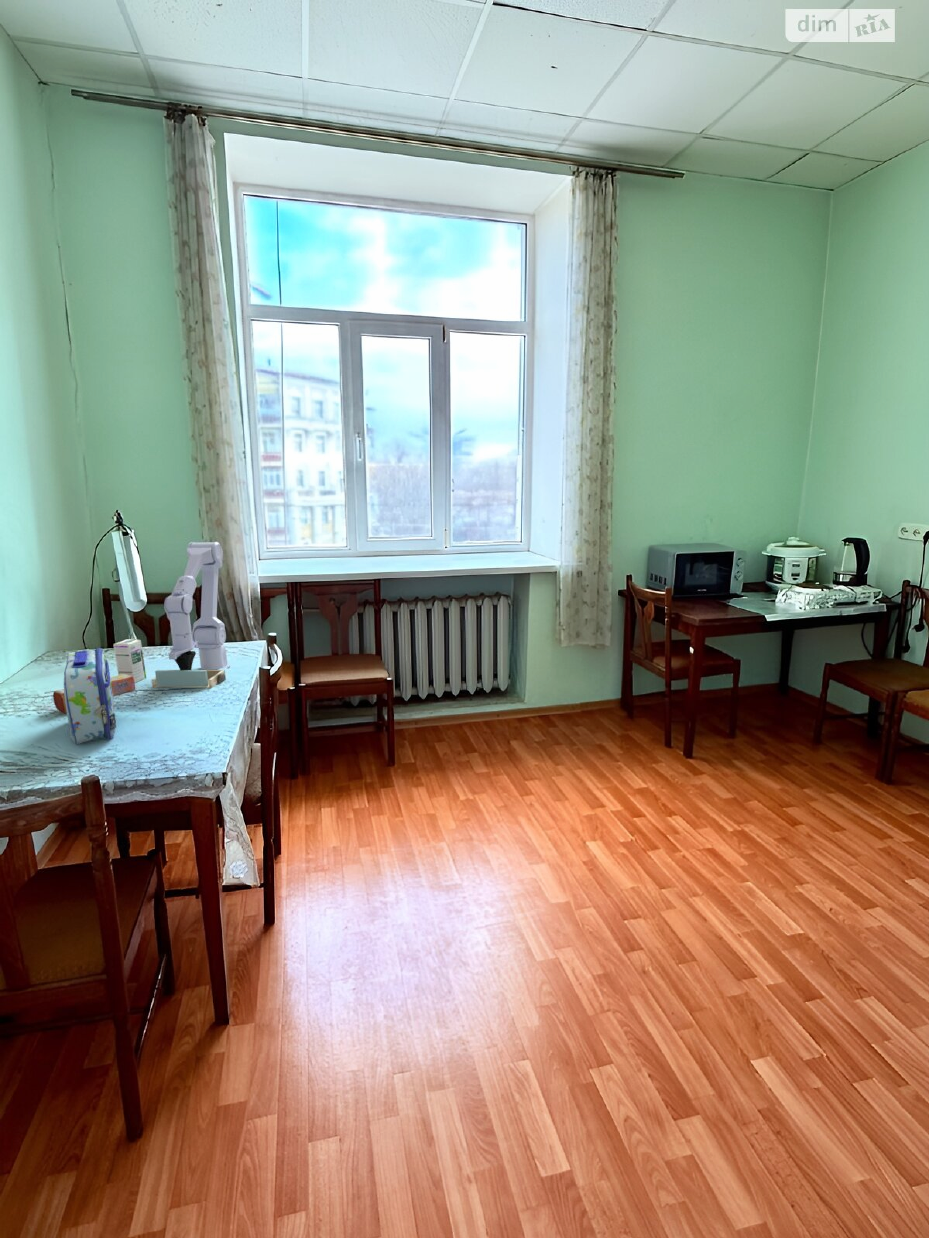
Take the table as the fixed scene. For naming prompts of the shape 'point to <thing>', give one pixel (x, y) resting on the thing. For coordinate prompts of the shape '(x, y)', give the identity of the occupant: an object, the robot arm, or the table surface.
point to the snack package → (118, 685)
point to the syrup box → (130, 659)
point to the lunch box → (89, 696)
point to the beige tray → (213, 679)
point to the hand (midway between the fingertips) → (186, 675)
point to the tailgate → (181, 678)
